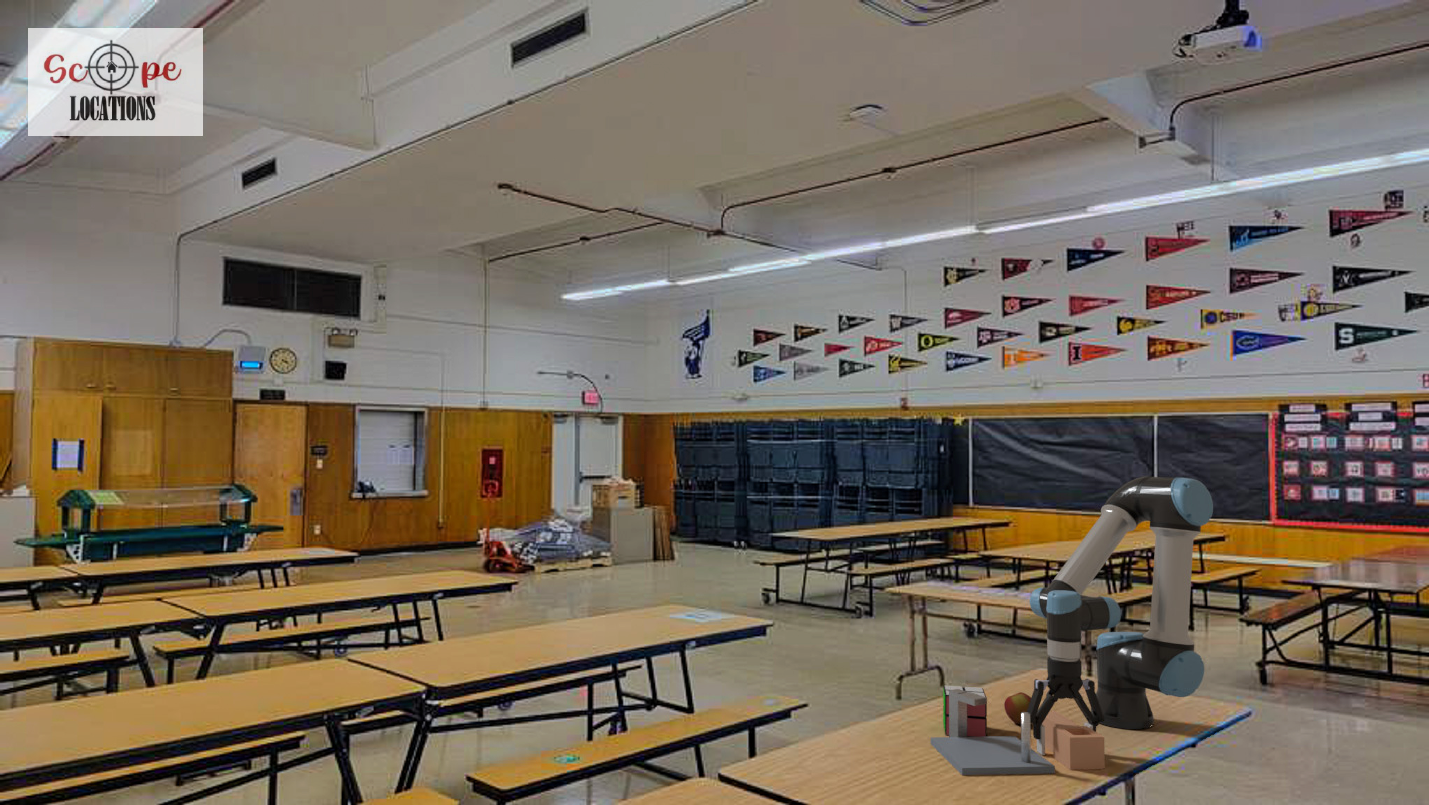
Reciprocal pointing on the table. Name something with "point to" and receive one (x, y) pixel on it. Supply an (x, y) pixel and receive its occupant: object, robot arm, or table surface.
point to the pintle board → (989, 755)
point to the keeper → (961, 710)
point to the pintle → (1025, 737)
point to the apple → (1016, 706)
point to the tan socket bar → (1073, 743)
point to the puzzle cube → (974, 713)
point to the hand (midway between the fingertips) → (1064, 752)
